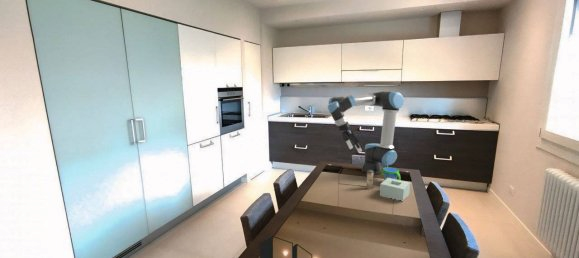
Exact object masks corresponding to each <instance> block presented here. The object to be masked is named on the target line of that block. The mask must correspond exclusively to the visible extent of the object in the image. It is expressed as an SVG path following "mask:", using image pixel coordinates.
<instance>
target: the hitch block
mask: <svg viewBox="0 0 579 258" xmlns="http://www.w3.org/2000/svg"><path fill="white" fill-rule="evenodd" d="M379 186H380V187H379V197H381V198H386V199H390V198H392V199H391V200H394V199H396V200H395V201H398V200H401V201H403V200H404V199H405V198H406V197H409V195H410V191H411V190H410V188H411V182H410V181H406V180H405V181H404V180H398V179H397V180H396V179H392V178H387V179H386V180H385V181H384V180H383V181H382V182H381V183H380V185H379ZM406 199H407V198H406ZM406 199H405V200H406ZM405 200H404V201H405ZM401 201H400V202H401ZM404 201H403V202H404Z"/></svg>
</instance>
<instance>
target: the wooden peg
mask: <svg viewBox="0 0 579 258" xmlns="http://www.w3.org/2000/svg"><path fill="white" fill-rule="evenodd" d="M373 184H374V174H373V171H371V170H368V171H367V173H366V187H365V188H366V189H367V190H373Z"/></svg>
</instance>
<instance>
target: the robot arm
mask: <svg viewBox="0 0 579 258" xmlns="http://www.w3.org/2000/svg"><path fill="white" fill-rule="evenodd" d="M404 101H405V100H404V96H403V95H402V93H401V92H399V91H398V92H397V91H377V92H371V93H368V94H365V95H364V94H363V95H361V94H360V95H348V96H337V97H336V96H332V97H330V98H329V99H328V105H327V109H328V112H329V113H330V115H331V117H332V120H333V121H334V124H335V125H336V126H337V128H338V130H339V131H340V133H341V136H342V139H343V141H344V142H345V143H346V145H347V146H348V149H349V150H352V149H353V148H354V147H355V149H356V150H357V153H358V154H360V153H362V152H363V150H362V148H361V145H360V144H359V143H360V140H358V138H357V136H356V135H355V134H354V133H353V131H352V129H349V128H350V126H351V125H350V124H349V122H348V119H347V117H346V115H345V112H347V111H348V110H350V109H351V108H353V107H358V106H359V107H360V106H369V107H379V108H380V107H381V110H382V111H383V119H382V127H381V135H380V136H381V137H380V143H374V142H373V143H366V144H365V146H364V163H363V165H362V167H361V172H362V173H364V174H367V171H368V170H371V171H373V175H381V170H382V166H381V164H383V165H386V166H391V165H393V164H394V163H395V162H396V161H397V158H398V154H397V152H396V150H395V146H394V135H395V128H396V119H397V113H398V112H399V110H400V108H403V105H404ZM351 141H352V142H351ZM352 143H353V144H352ZM353 145H354V146H353ZM380 163H381V164H380Z"/></svg>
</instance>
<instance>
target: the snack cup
mask: <svg viewBox="0 0 579 258" xmlns="http://www.w3.org/2000/svg"><path fill="white" fill-rule="evenodd" d="M380 176H381V177H383V181H385V180H386V179H387V178H392V179H396V180H401V174H400V170H399V169H398V168H397V167H391V166H389V167H387V166H386V167H383V168H381V173H380ZM401 181H402V180H401Z"/></svg>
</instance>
